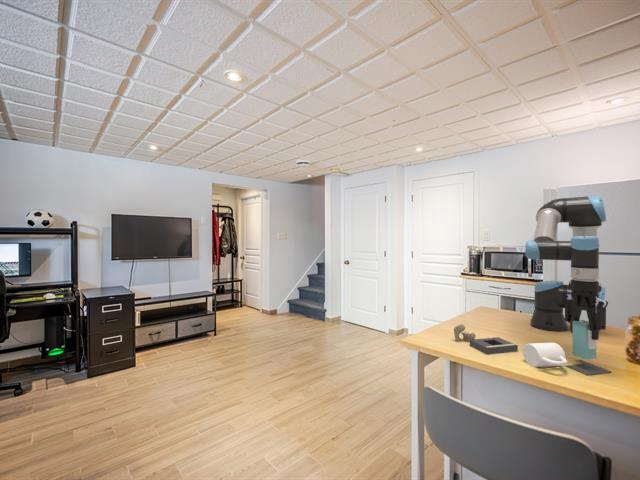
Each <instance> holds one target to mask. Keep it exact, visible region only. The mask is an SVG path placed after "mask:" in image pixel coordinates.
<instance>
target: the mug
mask: <svg viewBox="0 0 640 480" xmlns="http://www.w3.org/2000/svg"><path fill="white" fill-rule="evenodd" d="M522 356H523V358H524V361H525V363H526V364H529V365H530V366H532V367H534V368H545V367H563V366H567V365H568V360H567V357H566V354H565V350H564V348H563V347H562V346H561V345H560V344H558V343H556V342H538V343H537V342H535V343H534V342H533V343H532V342H531V343H526V344H525V345H524V346H523V348H522Z"/></svg>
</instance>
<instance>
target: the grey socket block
mask: <svg viewBox="0 0 640 480" xmlns="http://www.w3.org/2000/svg"><path fill="white" fill-rule="evenodd" d="M469 346H470V347H472V348H474V349H475V350H477V351H479V352H481V353H483V354H485V355H497V354H498V355H499V354H506V353H507V354H508V353H517V352H518V351H519V350H518V346H519V345H518V344H516V343H513V342H511V341H508V340H506V339H503V338H502V337H497V336H496V337H486V338H475V339H472V340H470V342H469Z"/></svg>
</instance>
